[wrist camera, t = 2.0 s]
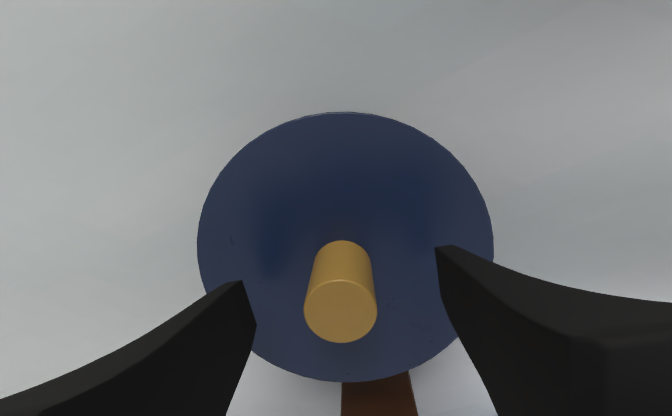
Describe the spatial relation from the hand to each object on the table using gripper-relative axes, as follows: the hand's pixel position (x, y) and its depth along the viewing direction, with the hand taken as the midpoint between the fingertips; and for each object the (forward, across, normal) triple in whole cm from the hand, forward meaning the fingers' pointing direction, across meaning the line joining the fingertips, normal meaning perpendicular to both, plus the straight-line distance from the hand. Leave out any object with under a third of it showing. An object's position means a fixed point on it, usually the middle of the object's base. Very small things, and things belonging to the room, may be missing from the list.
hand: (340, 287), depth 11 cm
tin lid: (+2, 0, 0) cm, 2 cm away
